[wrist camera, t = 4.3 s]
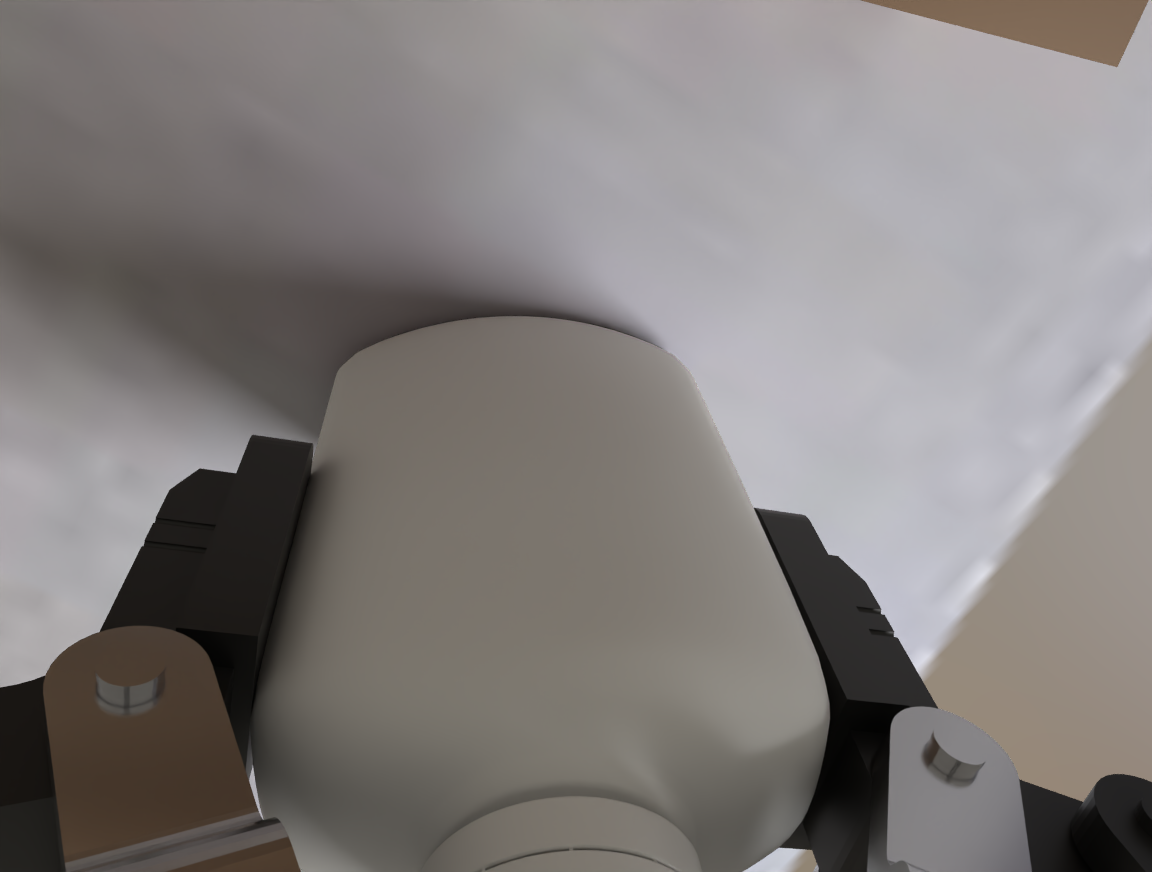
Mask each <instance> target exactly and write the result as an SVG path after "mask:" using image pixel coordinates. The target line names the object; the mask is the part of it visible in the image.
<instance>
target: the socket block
mask: <svg viewBox="0 0 1152 872" xmlns="http://www.w3.org/2000/svg"><path fill="white" fill-rule="evenodd" d="M862 1H865V2H869V3H873V4H877V5H881V6H885V7H888V8H892V9H896V10H900V11H904V12H908V13H911V14H915V15H919V16H923V17H927V18H931V19H935V20H938V21H942V22H946V23H950V24H954V25H958V26H961V27H965V28H969V29H973V30H977V31H981V32H984V33H988V34H992V35H996V36H1000V37H1004V38H1007V39H1011V40H1015V41H1019V42H1023V43H1027V44H1030V45H1034V46H1038V47H1042V48H1046V49H1050V50H1054V51H1057V52H1061V53H1065V54H1069V55H1073V56H1077V57H1080V58H1084V59H1088V60H1092V61H1096V62H1100V63H1103V64H1107V65H1111V66H1115V67H1117V66H1118V64H1119V62H1120V60H1121V58H1122V56H1123V54H1124V52H1125V49H1126V47H1127V45H1128V43H1129V41H1130V39H1131V37H1132V35H1133V32H1134V30H1135V28H1136V26H1137V24H1138V22H1139V20H1140V18H1141V15H1142V13H1143V11H1144V9H1145V7H1146V5H1147V3H1148V0H862Z"/></svg>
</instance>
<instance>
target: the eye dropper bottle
mask: <svg viewBox="0 0 1152 872" xmlns="http://www.w3.org/2000/svg"><path fill="white" fill-rule="evenodd" d="M829 722H830V703H829V698H828V693H827V688H826V683H825V680H824V676H823V672H822V668H821V665H820V661H819V657H818V655H817V652H816V650H815V648H814V645H813V643H812V640H811V638H810V636H809V633H808V631H807V628H806V626H805V624H804V621H803V619H802V616H801V614H800V612H799V609H798V607H797V604H796V602H795V600H794V597H793V595H792V592H791V590H790V588H789V585H788V583H787V581H786V579H785V577H784V574H783V572H782V570H781V568H780V566H779V563H778V561H777V559H776V557H775V554H774V552H773V550H772V548H771V546H770V543H769V541H768V539H767V537H766V535H765V532H764V530H763V528H762V526H761V523H760V521H759V519H758V517H757V515H756V512H755V510H754V508H753V506H752V504H751V501H750V499H749V497H748V495H747V492H746V490H745V488H744V486H743V484H742V481H741V479H740V477H739V475H738V473H737V471H736V468H735V466H734V464H733V462H732V460H731V457H730V455H729V453H728V451H727V449H726V447H725V444H724V442H723V440H722V438H721V436H720V434H719V431H718V429H717V427H716V425H715V423H714V421H713V418H712V416H711V414H710V412H709V410H708V408H707V405H706V403H705V401H704V399H703V397H702V395H701V392H700V390H699V388H698V386H697V384H696V382H695V380H694V377H693V376H692V374H691V372H690V371H689V370H688V369H687V368H686V367H685V366H684V365H683V364H682V363H681V362H680V361H679V360H678V359H677V358H676V357H675V356H674V355H672V354H671V353H669V352H667V351H665V350H663V349H661V348H659V347H657V346H655V345H653V344H651V343H648V342H646V341H643V340H640V339H638V338H635V337H633V336H630V335H627V334H624V333H621V332H618V331H614V330H611V329H607V328H603V327H600V326H596V325H591V324H586V323H581V322H576V321H570V320H563V319H556V318H546V317H531V316H497V317H483V318H473V319H465V320H458V321H452V322H447V323H442V324H437V325H433V326H429V327H424V328H420V329H417V330H413V331H410V332H407V333H403V334H400V335H397V336H394V337H391V338H389V339H386V340H383V341H380V342H378V343H376V344H374V345H372V346H369V347H367V348H365V349H363V350H361V351H359V352H357V353H356V354H355V355H353V356H352V357H351V358H350V359H349V360H348V361H347V362H346V363H345V364H344V365H342V366H341V367H340V369H339V370H338V372H337V374H336V377H335V381H334V384H333V388H332V392H331V395H330V399H329V403H328V406H327V410H326V414H325V417H324V421H323V425H322V428H321V432H320V436H319V439H318V443H317V447H316V451H315V454H314V458H313V462H312V467H311V475H310V479H309V482H308V486H307V490H306V494H305V497H304V501H303V505H302V509H301V513H300V516H299V520H298V524H297V528H296V532H295V535H294V539H293V543H292V547H291V551H290V554H289V558H288V562H287V566H286V570H285V573H284V577H283V581H282V585H281V589H280V592H279V596H278V600H277V604H276V608H275V612H274V615H273V619H272V623H271V627H270V631H269V635H268V639H267V643H266V647H265V651H264V655H263V659H262V664H261V668H260V672H259V676H258V681H257V686H256V691H255V697H254V702H253V707H252V713H251V718H250V736H251V749H252V759H253V767H254V774H255V781H256V788H257V793H258V798H259V804H260V808H261V812H262V815H263V819H264V820H265V819H269V818H273V817H276V818H278V819H279V820H280V822H281V823H282V824H283V826H284V828H285V830H286V832H287V834H288V836H289V839H290V842H291V844H292V847H293V850H294V853H295V856H296V859H297V862H298V865H299V868H300V869H301V870H302V871H304V872H742V871H744V870H746V869H748V868H749V867H751V866H752V865H754V864H756V863H757V862H759V861H760V860H762V859H763V858H765V857H766V856H767V855H769V854H770V853H772V852H773V851H775V850H776V849H778V848H779V847H780V846H781V845H782V844H783V843H784V842H785V841H786V840H787V839H789V838H790V836H791V835H792V834H793V832H794V831H795V830H796V828H797V827H798V826H799V825H800V823H801V822H802V820H803V818H804V817H805V815H806V813H807V811H808V809H809V806H810V803H811V801H812V798H813V796H814V793H815V789H816V786H817V782H818V779H819V775H820V771H821V767H822V762H823V758H824V753H825V748H826V742H827V736H828V729H829Z"/></svg>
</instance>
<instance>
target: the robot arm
mask: <svg viewBox="0 0 1152 872" xmlns="http://www.w3.org/2000/svg"><path fill="white" fill-rule="evenodd" d="M312 458H313V443H306V442H299V441H292V440H285V439H278V438H271V437H264V436H257V435H252V436H251V438H250V440H249V442H248V445H247V447H246V450H245V453H244V455H243V458H242V460H241V463H240V465H239V468H238V470H237V473H229V472H221V471H214V470H207V469H198V470H197V471H196V472H194V473H193V474H191V475H190V476H188V477H187V478H186V479H184V480H183V481H181V482H180V483H179V484H177V485H176V486H174V487H173V488H172V489H170V490H169V492H168V494H167V496H166V498H165V500H164V502H163V504H162V506H161V508H160V510H159V512H158V514H157V516H156V521H155V523H153V525H152V527H151V529H150V531H149V533H148V535H147V537H146V539H145V542H144V546H142V547H141V549H140V551H139V553H138V555H137V557H136V559H135V561H134V563H133V565H132V567H131V569H130V571H129V573H128V575H127V577H126V579H125V581H124V583H123V585H122V587H121V589H120V591H119V593H118V596H117V598H116V600H115V602H114V604H113V606H112V608H111V610H110V612H109V614H108V616H107V618H106V620H105V622H104V624H103V626H102V628H101V630H100V632H99V633H95V634H92V635H90V636H88V637H86V638H84V639H81V640H79V641H78V642H76V643H75V644H73V645H71V646H70V647H68V648H67V649H66V650H65V651H64V652H62V653H61V654H60V655H59V656H58V657H57V658H56V659H55V661H54V662H53V663H52V664H51V666H50V668H49V670H48V671H47V673H46V675H45V676H43V677H40V678H37V679H35V680H32V681H28V682H25V683H21V684H17V685H12V686H7V687H1V688H0V872H301V871H300V868H299V865H298V862H297V859H296V856H295V853H294V850H293V847H292V844H291V842H290V839H289V836H288V834H287V832H286V830H285V828H284V826H283V824H282V823H281V822H280V820H279V819H278V818H276V817H273V818H269V819H265V820H263V819H262V817H261V816H260V813H259V811H258V808H257V805H256V802H255V799H254V796H253V792H252V789H251V786H250V783H249V778H250V774H251V770H252V766H253V759H252V749H251V736H250V718H251V713H252V707H253V702H254V697H255V691H256V686H257V681H258V676H259V672H260V668H261V664H262V659H263V655H264V651H265V647H266V643H267V639H268V635H269V631H270V627H271V623H272V619H273V615H274V612H275V608H276V604H277V600H278V596H279V592H280V589H281V585H282V581H283V577H284V573H285V570H286V566H287V562H288V558H289V554H290V551H291V547H292V543H293V539H294V535H295V532H296V528H297V524H298V520H299V516H300V513H301V509H302V505H303V501H304V497H305V494H306V490H307V486H308V482H309V479H310V475H311V467H312ZM754 510H755V512H756V515H757V517H758V519H759V521H760V523H761V526H762V528H763V530H764V532H765V535H766V537H767V539H768V541H769V543H770V546H771V548H772V550H773V552H774V554H775V557H776V559H777V561H778V563H779V566H780V568H781V570H782V572H783V574H784V577H785V579H786V581H787V583H788V585H789V588H790V590H791V592H792V595H793V597H794V600H795V602H796V604H797V607H798V609H799V612H800V614H801V616H802V619H803V621H804V624H805V626H806V628H807V631H808V633H809V636H810V638H811V640H812V643H813V645H814V648H815V650H816V652H817V655H818V657H819V661H820V665H821V668H822V672H823V676H824V680H825V683H826V688H827V693H828V698H829V703H830V722H829V729H828V736H827V742H826V748H825V753H824V758H823V762H822V767H821V771H820V775H819V779H818V782H817V786H816V789H815V793H814V796H813V798H812V801H811V803H810V806H809V809H808V811H807V813H806V815H805V817H804V818H803V820H802V822H801V823H800V825H799V826H798V827H797V828H796V830H795V831H794V832H793V834H792V835H791V836H790V838H789V839H787V840H786V841H785V842H784V843H783V844H782V845H781V846H780V847H779V848H793V849H807V850H812V851H813V854H814V856H815V859H816V862H817V866H816V867H815V870H814V871H813V872H1152V782H1150V781H1147V780H1145V779H1142V778H1138V777H1135V776H1130V775H1124V774H1113V775H1108V776H1105V777H1103V778H1101V779H1100V780H1099V781H1098V782H1097V783H1096V785H1095V786H1094V788H1093V789H1092V790H1091V792H1090V793H1089V795H1088V796H1087V798H1086V799H1085V801H1084V802H1082V801H1079V800H1076V799H1073V798H1070V797H1067V796H1065V795H1062V794H1059V793H1056V792H1053V791H1050V790H1047V789H1044V788H1042V787H1039V786H1036V785H1033V784H1030V783H1027V782H1024V781H1022V780H1020V779H1019V777H1018V773H1017V771H1016V768H1015V766H1014V764H1013V762H1012V761H1011V759H1010V758H1009V756H1008V755H1007V753H1006V752H1005V751H1004V750H1003V749H1002V747H1001V746H1000V745H999V744H998V743H997V742H996V741H995V740H994V739H993V738H992V737H990V736H989V735H988V734H986V732H984V731H983V730H982V729H980V728H979V727H977V726H976V725H974V724H973V723H971V722H969V721H967V720H966V719H964V718H962V717H959V716H957V715H955V714H953V713H950V712H947V711H944V710H941V709H938V707H937V706H936V704H935V702H934V701H933V699H932V697H931V695H930V693H929V692H928V690H927V688H926V686H925V685H924V683H923V681H922V679H921V678H920V676H919V674H918V672H917V671H916V669H915V667H914V665H913V664H912V662H911V660H910V659H909V657H908V655H907V653H906V652H905V650H904V648H903V646H902V645H901V643H900V641H899V639H898V638H896V637H894V631H893V629H892V627H891V625H890V624H889V622H888V620H887V618H886V617H885V615H882V614H881V608H880V606H879V604H878V603H877V601H876V599H875V598H874V596H873V594H872V592H871V591H870V589H869V587H868V585H867V584H866V582H865V581H864V580H863V579H862V578H861V577H860V576H859V575H858V574H856V573H855V572H854V571H853V570H852V569H851V568H850V567H849V566H848V565H847V564H846V563H845V562H844V561H842V560H841V559H840V558H839V557H838V556H833V555H828V553H827V551H826V550H825V548H824V546H823V544H822V542H821V540H820V538H819V537H818V535H817V533H816V531H815V529H814V527H813V526H812V524H811V522H810V520H809V519H808V518H807V517H806V516H804V515H800V514H793V513H786V512H779V511H772V510H765V509H759V508H754Z"/></svg>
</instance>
